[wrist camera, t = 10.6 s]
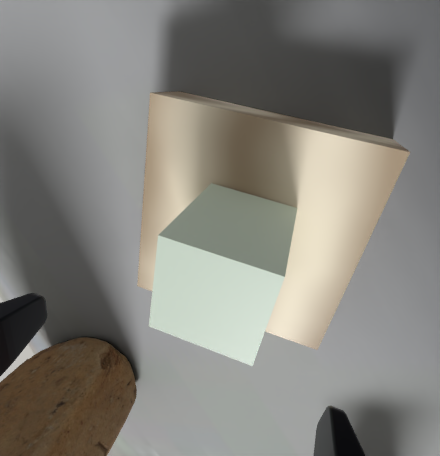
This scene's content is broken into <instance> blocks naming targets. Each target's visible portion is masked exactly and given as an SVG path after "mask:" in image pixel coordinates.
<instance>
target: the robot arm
mask: <svg viewBox="0 0 440 456" xmlns="http://www.w3.org/2000/svg"><path fill="white" fill-rule="evenodd" d="M46 319H47V309H46V300H45V298H44V297H43V296H40V295H38V294H35V293H30V294H27V295H24V296H21V297H17V298H14V299H11V300H8V301H5V302H2V303H0V376H1V375H2V374H3V373H4V372H5V371H6V370H7V369H8V367H9V366H10V365H11V364H12V363H13V362H14V361H15V359H16V358H17V357H18V356H19V354H20V353H21V352H22V351H23V349H24V348H25V347H26V346H27V344H28V343H29V342H30V341H31V339H32V338H33V337H34V336H35V334H36V333H37V332H38V330H39V329H40V328H41V327H42V325H43V324H44V323H45V321H46ZM314 456H365V454H364V451H363V449H362V447H361V445H360V443H359V441H358V439H357V437H356V434H355V432H354V430H353V428H352V426H351V424H350V422H349V420H348V418H347V415H346V414H345V412H344V411H343V410H341V409H338V408H335V407H333V406H328V407H327V408H326V410H325V412H324V413H323V415H322V417H321V419H320V420H319V422H318V425H317V430H316V438H315V448H314Z"/></svg>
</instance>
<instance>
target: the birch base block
mask: <svg viewBox="0 0 440 456" xmlns="http://www.w3.org/2000/svg"><path fill="white" fill-rule="evenodd" d="M409 153H410V152H409V151H408V150H406V149H405V148H404V147H402V146H401V145H400V144H399V143H397V142H396V141H395V140H393V139H389V138H385V137H380V136H376V135H372V134H367V133H363V132H358V131H354V130H349V129H345V128H340V127H336V126H331V125H327V124H322V123H318V122H314V121H309V120H305V119H300V118H296V117H291V116H287V115H282V114H278V113H273V112H269V111H264V110H260V109H255V108H251V107H247V106H242V105H238V104H233V103H229V102H224V101H220V100H215V99H211V98H206V97H202V96H197V95H193V94H188V93H184V92H180V91H177V92H155V93H150V104H149V119H148V134H147V149H146V164H145V179H144V194H143V209H142V224H141V240H140V255H139V270H138V285H137V286H139V287H142V288H144V289H147V290H150V291H152V290H153V280H154V271H155V261H156V251H157V241H158V235H159V234H160V233H161V232H162V231H163V230H164V229H165V228H166V227H167V226H168V225H169V224H170V223H171V222H172V221H173V220H174V219H175V218H176V217H177V216H178V215H179V214H180V213H181V212H182V211H183V210H184V209H185V208H186V207H188V206H189V205H190V204H191V203H192V202H193V201H194V200H195V199H196V198H197V197H198V196H199V195H200V194H201V193H202V192H203V191H204V190H205V189H206V188H207V187H208V186H209V185H210V184H211V183H213V184H216V185H219V186H223V187H226V188H230V189H233V190H237V191H240V192H244V193H247V194H251V195H254V196H258V197H261V198H264V199H268V200H271V201H275V202H278V203H282V204H285V205H289V206H292V207H296V208H297V213H296V219H295V224H294V230H293V235H292V241H291V246H290V252H289V257H288V263H287V268H286V274H285V278H284V281H283V284H282V286H281V289H280V292H279V295H278V297H277V300H276V303H275V305H274V308H273V311H272V314H271V316H270V319H269V322H268V325H267V327H266V330H265V332H268V333H271V334H274V335H277V336H279V337H282V338H285V339H288V340H291V341H293V342H296V343H299V344H302V345H305V346H307V347H310V348H313V349H316V350H318V348H319V345H320V343H321V341H322V339H323V337H324V335H325V333H326V331H327V328H328V326H329V324H330V322H331V320H332V318H333V316H334V313H335V311H336V309H337V307H338V305H339V303H340V301H341V299H342V296H343V294H344V292H345V290H346V288H347V286H348V284H349V281H350V279H351V277H352V275H353V273H354V271H355V269H356V267H357V264H358V262H359V260H360V258H361V256H362V254H363V252H364V249H365V247H366V245H367V243H368V241H369V239H370V237H371V235H372V232H373V230H374V228H375V226H376V224H377V222H378V220H379V217H380V215H381V213H382V211H383V209H384V207H385V205H386V203H387V200H388V198H389V196H390V194H391V192H392V190H393V188H394V185H395V183H396V181H397V179H398V177H399V175H400V173H401V171H402V168H403V166H404V164H405V162H406V160H407V158H408V156H409Z"/></svg>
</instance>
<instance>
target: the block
mask: <svg viewBox="0 0 440 456" xmlns="http://www.w3.org/2000/svg"><path fill="white" fill-rule="evenodd" d="M136 391H137V390H136V385H135V378H134V374H133V371H132V368H131V365H130V363H129V361H128V360H127V359H126V357H125V356H124V355H123V354H121V353H120V352H119V351H118V350H116V349H115V348H114V347H113V346H112V345H110V344H108V343H107V342H105V341H102V340H99V339H95V338H87V337H83V338H77V339H73V340H69V341H66V342H63V343H58V344H56V345H53V346H51V347H49V348H47V349H45V350H42V351H40V352H39V353H37V354H35V355H34V356H33V357H32V358H30V359H27V360H26V361H25V362H24V363H22V364H21V365H20V366H19V367H18V368H17V369H15V370H14V371H13V372H12V373H11V374H9V375H8V376H7V377H6V378H5V379H4V380H3V381H1V382H0V456H107V454H108V453H109V451H110V449H111V447H112V446H113V444H114V442H115V440H116V438H117V436H118V434H119V432H120V430H121V429H122V427H123V425H124V423H125V421H126V419H127V417H128V415H129V413H130V410H131V408H132V406H133V404H134V401H135V399H136Z"/></svg>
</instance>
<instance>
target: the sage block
mask: <svg viewBox="0 0 440 456" xmlns="http://www.w3.org/2000/svg"><path fill="white" fill-rule="evenodd" d="M296 213H297V208H296V207H292V206H289V205H285V204H282V203H278V202H275V201H271V200H268V199H264V198H261V197H258V196H254V195H251V194H247V193H244V192H240V191H237V190H233V189H230V188H226V187H223V186H219V185H216V184H213V183H211V184H210V185H209V186H208V187H207V188H206V189H205V190H204V191H203V192H202V193H201V194H200V195H199V196H198V197H197V198H196V199H195V200H194V201H193V202H192V203H191V204H190V205H189V206H188V207H186V208H185V209H184V210H183V211H182V212H181V213H180V214H179V215H178V216H177V217H176V218H175V219H174V220H173V221H172V222H171V223H170V224H169V225H168V226H167V227H166V228H165V229H164V230H163V231H162V232H161V233H160V234H159V235H158V241H157V251H156V261H155V271H154V280H153V290H152V300H151V310H150V320H149V327H152V328H154V329H157V330H160V331H162V332H165V333H167V334H170V335H173V336H175V337H178V338H180V339H183V340H186V341H188V342H191V343H193V344H196V345H199V346H201V347H204V348H206V349H209V350H212V351H214V352H217V353H219V354H222V355H225V356H227V357H230V358H232V359H235V360H238V361H240V362H243V363H246V364H248V365H251V366H253V363H254V360H255V357H256V355H257V352H258V349H259V346H260V344H261V341H262V338H263V336H264V333H265V330H266V327H267V325H268V322H269V319H270V316H271V314H272V311H273V308H274V305H275V303H276V300H277V297H278V295H279V292H280V289H281V286H282V284H283V281H284V278H285V274H286V268H287V263H288V257H289V252H290V246H291V241H292V235H293V230H294V224H295V219H296Z"/></svg>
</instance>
